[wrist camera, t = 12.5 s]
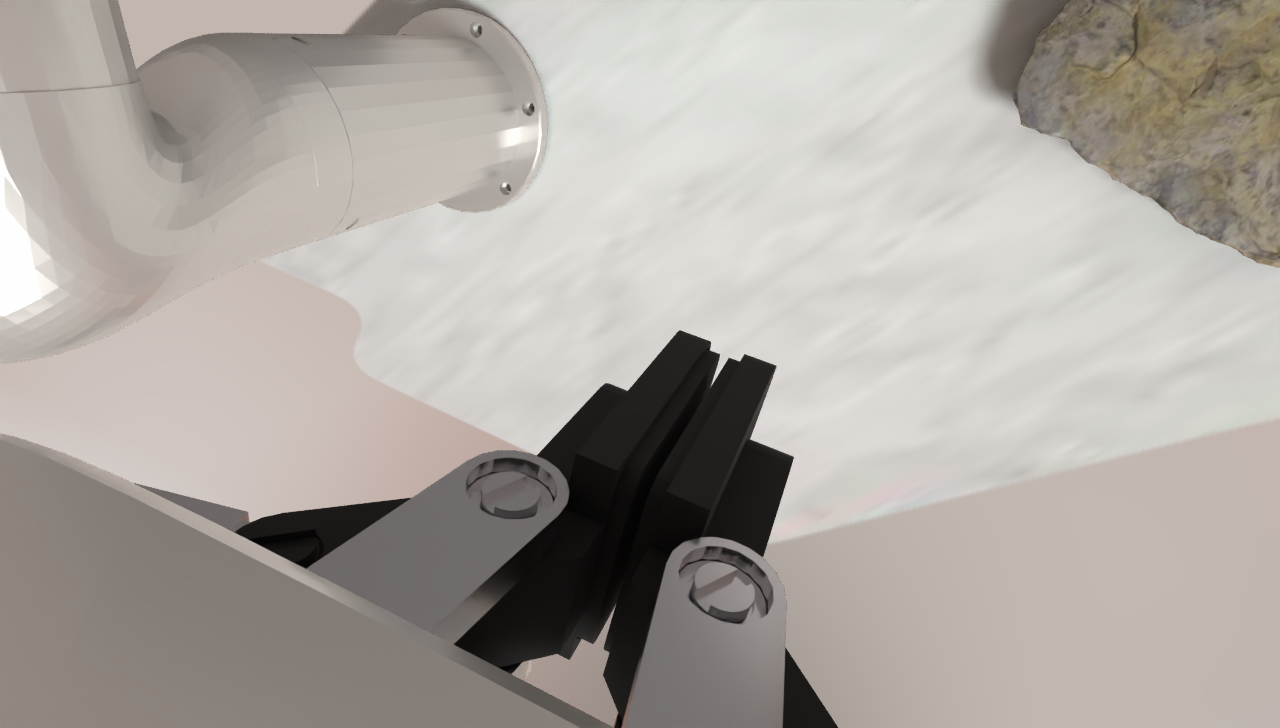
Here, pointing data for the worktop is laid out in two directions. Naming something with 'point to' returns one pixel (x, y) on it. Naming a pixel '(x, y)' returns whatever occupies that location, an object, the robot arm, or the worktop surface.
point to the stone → (1171, 107)
